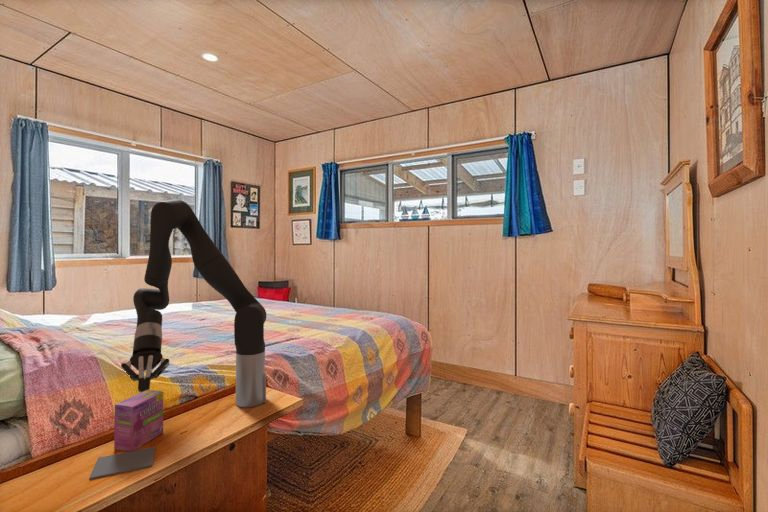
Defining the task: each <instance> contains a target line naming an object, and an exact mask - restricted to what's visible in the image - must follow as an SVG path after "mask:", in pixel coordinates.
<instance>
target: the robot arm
mask: <svg viewBox="0 0 768 512" xmlns="http://www.w3.org/2000/svg"><path fill="white" fill-rule="evenodd" d="M149 220H150V223H149V225H150V227H149V228H150V231H149V233H150V234H149V253H148V260H147V265H146V268H145V273H144V274H145V275H144V282H145V284H146V285H148V286H151V287H154V288H149V287H148V288H147V287H142V288H141V287H140V288H139V289H137V290H136V291H135V292H134V294H133V297H132V298H133V299H132V300H133V304H134V309H135V312H136V316H137V322H136V329H135V333H134V338H133V346H132V353H131V354H132V355H131V356H130V358H129V361H127V362H126V363H125V362H122V363H121V364H120V367H121V370H122V369H123V370H124V371H126V373H127V374H128V375H130V377H129V378H130V379H131V380H132V381H133V382H137V391H138V393H141V392H143V391H145V390H151V389H150V388H151V381H152V380H153V379H157V378H159V376H161V375H162V373H163V372H164V371H165V370H166V369H168V367H169V366H170V359H169V358H164V357H163V354H162V345H163V344H162V341H163V329H162V327H163V314H162V312H161V311H162V310H164V309H166V308H167V307H168V305H169V304H170V294H169V279H170V274H171V270H172V265H173V262H172V261H173V260H172V259H173V258H172V255H171V250H170V246H169V244H170V238H171V236H172V235H171V234H172V233H173V231H174V229H178V230H179V232H181V234H182V236H183V237H184V238H185V239H186V241H187V243H188V245H189V248H190V254H191V259H192V262H193V265H194V268H195V269H196V271H198V273H199V274H200V275H201V277H202V278H203V280H204V281H205V282H206V283H207V284H208V285H209V286H210V287H211V288H213V290H215V291H216V292H217V293H219V294H220V295H221V296H222V297H224V298H225V299H226V300H227V301H228V302H229V304H230V305H231V307H232V309H233V310H234V312H235V316H234V319H233V320H234V321H233V322H234V323H233V326H234V332H233V333H234V334H233V335H234V337H233V338H234V346H235V405H236V406H237V407H240V408H253V407H257V406H259V405H262V404H265V402H266V403H267V374H266V343H265V336H264V332H265V331H264V330H265V325H264V324H265V323H266V320H267V311H266V309H265V307H264V306H263V305H262V304H261V303H260V302H259V301H258V299H257V298H256V297H254V295H253V294H252V293H251V292H250V290H248V288H247V287H246V286H245V285H244V283H243V281H242V280H241V278H240V277H239V275H238V274H237V272H236V270H235V269H234V268H233V267H232V266H231V264H230V262H229V261H228V259H227V258H226V257H225V255H224V253H222V252H221V251H220V249H219V248H218V247H217V245H216V243H214V241H213V240H212V238H211V237H210V235H209V234H208V233H207V231H206V230H205V229H204V227H203V225H202V223H201V222H200V220H199V219H198V217H197V215H196V213H195V212H194V210H193V209H192V207H191V206H190V205H189V204H188V203H187V202H185V201H184V200H182V199H168V200H162V201H157V202H156V203H155V204H154V205H153V206H152V209H151V211H150V219H149ZM132 366H133V368H134V369H135V370H137V371H138V374H137V373H136V372H135V371H134V370H133V369H132ZM157 366H158V367H157ZM154 369H155V370H154ZM123 370H122V371H123ZM153 370H154V371H153ZM124 371H123V372H124ZM126 373H125V374H126ZM127 374H126V375H127ZM128 375H127V376H128Z"/></svg>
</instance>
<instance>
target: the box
mask: <svg viewBox="0 0 768 512" xmlns="http://www.w3.org/2000/svg"><path fill="white" fill-rule="evenodd" d="M113 422H114V428H113V429H114V431H113V432H114V436H113V437H114V440H113V443H114V444H113V445H114V446H113V449H114V450H116V451H117V450H118V451H123V452H130V451H135V450H138V449H139V448H141V447H142V446H144V445H145V444H147V443H148V442H151V440H153V439H155V438H157V437H158V436H160V435H161V434H163V433H164V391H160V390H154V389H149V390H145V391H143V392H138V393H137V394H135V395H133V396H130V397H129V398H126V399H124V400H122V401H120V402H117V403H116V404H114V421H113Z"/></svg>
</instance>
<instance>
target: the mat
mask: <svg viewBox="0 0 768 512" xmlns="http://www.w3.org/2000/svg"><path fill="white" fill-rule="evenodd" d="M155 451H156V446H150V447H146V448H141V449H136V450H134V451H130V452H129V451H124V452H120V453H115V454H109V455H106V456H100V457H97V459H96V461H95V464H94V467H93V469H92V471H91V473H90V476H89V479H88V480H89V481H90V480H94V479H99V478H105V477H108V476H112V475H117V474H118V475H119V474H123V473H127V472H131V471H136V470H140V469H145V468H149V467H150V468H151V467H153V464H154V458H155V453H156V452H155Z"/></svg>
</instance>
